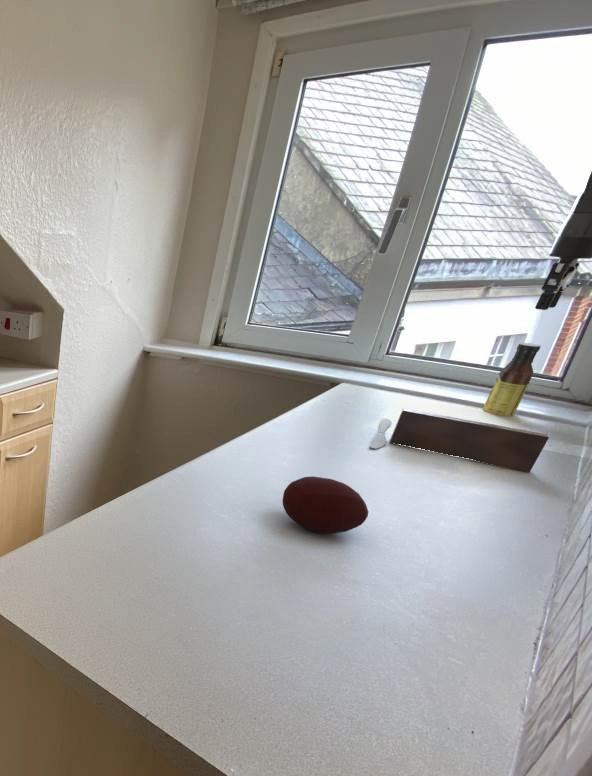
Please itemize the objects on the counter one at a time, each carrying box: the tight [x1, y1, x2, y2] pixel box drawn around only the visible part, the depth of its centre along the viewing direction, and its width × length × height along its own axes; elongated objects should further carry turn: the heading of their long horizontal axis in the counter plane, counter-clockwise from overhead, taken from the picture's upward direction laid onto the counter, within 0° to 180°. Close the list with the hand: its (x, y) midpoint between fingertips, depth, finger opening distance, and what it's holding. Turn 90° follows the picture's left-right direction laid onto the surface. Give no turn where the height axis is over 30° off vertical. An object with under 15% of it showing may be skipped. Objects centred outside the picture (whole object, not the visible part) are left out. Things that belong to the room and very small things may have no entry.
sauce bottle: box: [482, 342, 542, 417], centre depth 141 cm, size 6×6×20 cm
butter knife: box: [369, 418, 392, 450], centre depth 132 cm, size 1×27×3 cm
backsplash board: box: [389, 407, 550, 474], centre depth 119 cm, size 24×2×8 cm, turn 53°
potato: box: [281, 475, 369, 535], centre depth 89 cm, size 12×11×8 cm
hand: (544, 308), depth 133 cm, fingers open, 8 cm apart
